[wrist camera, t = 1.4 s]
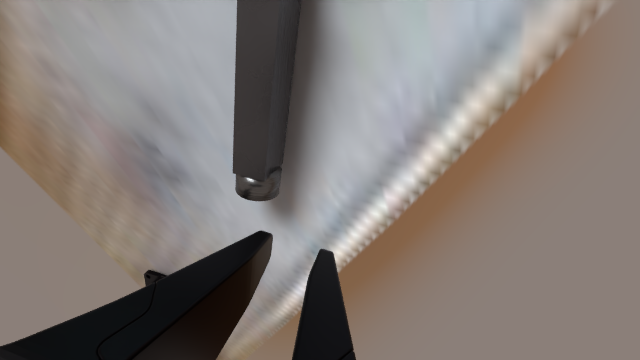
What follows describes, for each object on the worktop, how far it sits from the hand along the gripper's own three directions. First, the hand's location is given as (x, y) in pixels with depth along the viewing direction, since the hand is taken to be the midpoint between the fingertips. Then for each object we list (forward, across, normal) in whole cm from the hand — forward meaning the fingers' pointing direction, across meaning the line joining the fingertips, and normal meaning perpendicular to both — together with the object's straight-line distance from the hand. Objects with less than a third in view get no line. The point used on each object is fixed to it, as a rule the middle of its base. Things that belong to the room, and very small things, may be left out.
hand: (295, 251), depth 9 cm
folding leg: (+11, +5, -3) cm, 12 cm away
